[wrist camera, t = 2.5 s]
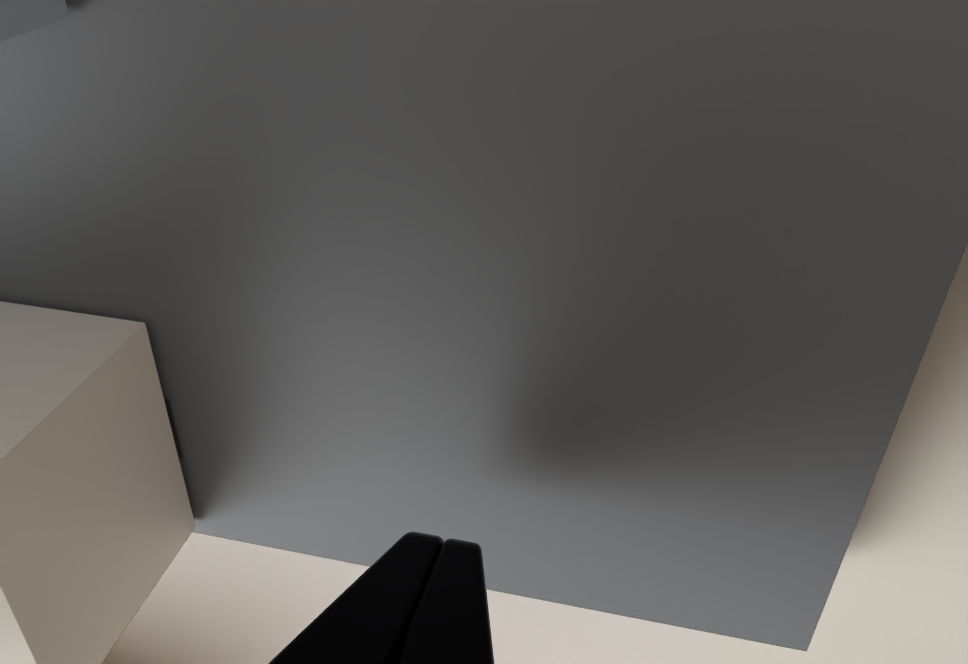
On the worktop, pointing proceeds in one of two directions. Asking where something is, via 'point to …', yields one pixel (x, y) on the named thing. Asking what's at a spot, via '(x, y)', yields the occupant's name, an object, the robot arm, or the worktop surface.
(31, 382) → the slider white
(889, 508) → the worktop surface
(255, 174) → the panel
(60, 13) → the slider blue
